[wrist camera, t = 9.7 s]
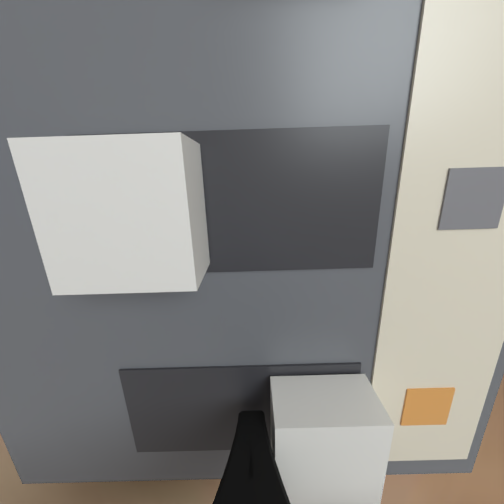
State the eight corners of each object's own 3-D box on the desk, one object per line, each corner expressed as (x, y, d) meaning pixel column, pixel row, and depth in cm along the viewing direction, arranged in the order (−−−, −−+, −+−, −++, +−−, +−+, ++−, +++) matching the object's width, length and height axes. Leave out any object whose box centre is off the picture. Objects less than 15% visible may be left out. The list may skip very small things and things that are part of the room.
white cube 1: (270, 445, 10) (275, 507, 8) (270, 376, 9) (275, 428, 7) (356, 443, 10) (380, 504, 8) (364, 373, 9) (394, 425, 7)
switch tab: (100, 266, 8) (53, 295, 6) (73, 148, 7) (6, 138, 5) (210, 263, 8) (196, 291, 6) (199, 143, 7) (180, 132, 5)
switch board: (56, 438, 13) (19, 488, 11) (-202, -290, 6) (-438, -532, 4) (439, 428, 13) (474, 476, 11) (629, -326, 6) (831, -593, 4)
